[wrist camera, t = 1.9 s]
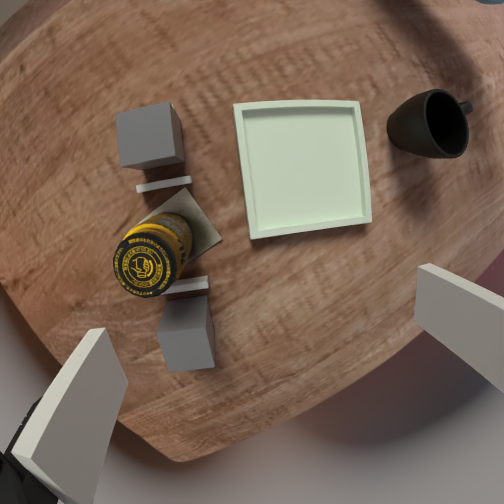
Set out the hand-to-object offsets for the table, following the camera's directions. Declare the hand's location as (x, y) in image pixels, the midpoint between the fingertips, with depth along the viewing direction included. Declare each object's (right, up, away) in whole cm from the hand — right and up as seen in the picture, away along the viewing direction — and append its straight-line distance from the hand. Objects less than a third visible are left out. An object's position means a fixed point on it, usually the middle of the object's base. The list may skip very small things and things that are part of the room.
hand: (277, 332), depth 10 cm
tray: (+5, +13, +21) cm, 26 cm away
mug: (+21, +21, +22) cm, 37 cm away
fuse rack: (-10, +5, +21) cm, 24 cm away
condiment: (-10, +5, +22) cm, 24 cm away
